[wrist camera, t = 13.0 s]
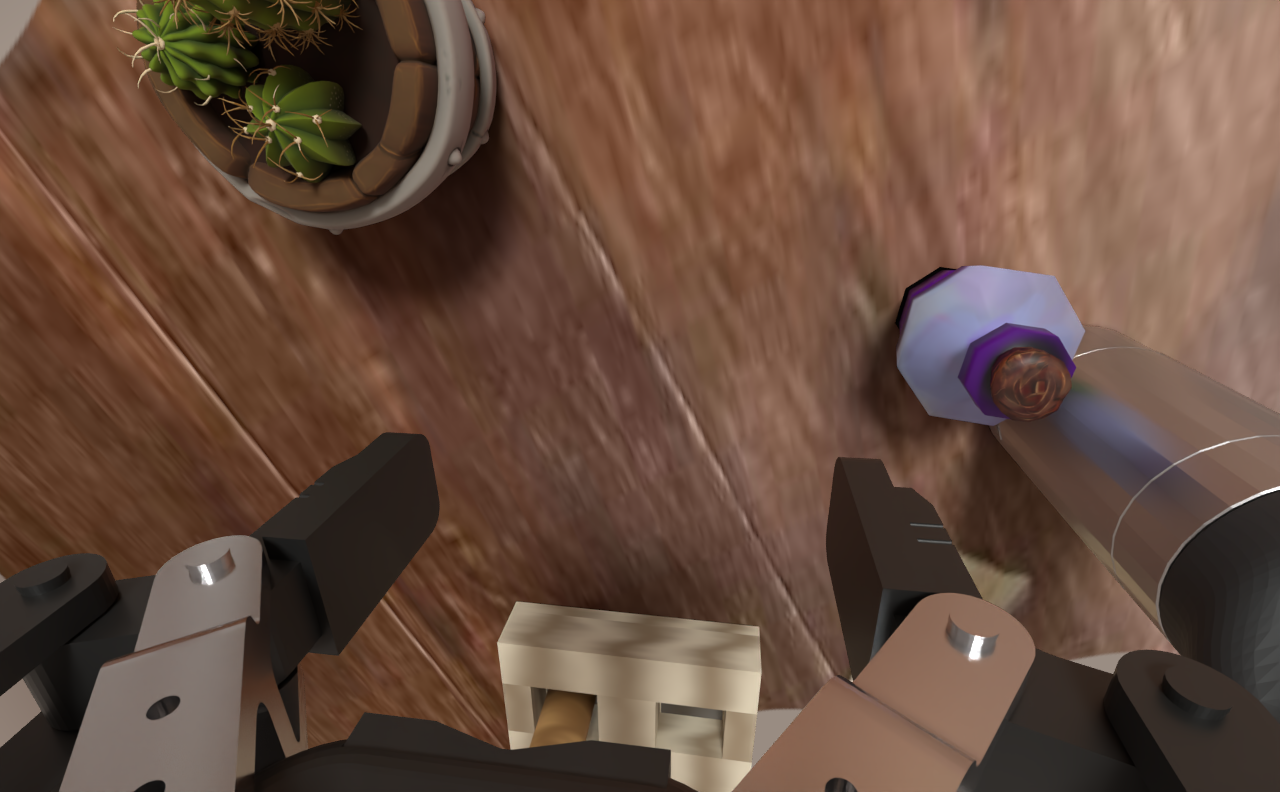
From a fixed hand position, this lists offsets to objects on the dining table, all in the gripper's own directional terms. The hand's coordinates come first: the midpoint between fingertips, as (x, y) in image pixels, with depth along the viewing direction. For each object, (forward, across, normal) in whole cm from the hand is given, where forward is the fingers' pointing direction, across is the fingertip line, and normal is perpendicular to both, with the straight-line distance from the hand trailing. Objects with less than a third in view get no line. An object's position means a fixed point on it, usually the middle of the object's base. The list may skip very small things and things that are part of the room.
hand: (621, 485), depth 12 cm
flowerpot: (+28, +17, -10) cm, 34 cm away
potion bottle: (+28, -15, +4) cm, 32 cm away
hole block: (+28, +5, +36) cm, 46 cm away
